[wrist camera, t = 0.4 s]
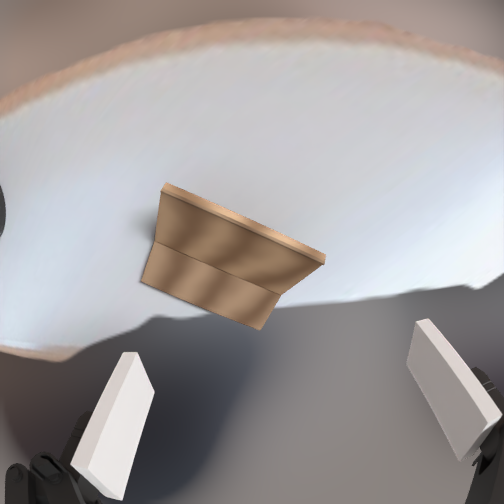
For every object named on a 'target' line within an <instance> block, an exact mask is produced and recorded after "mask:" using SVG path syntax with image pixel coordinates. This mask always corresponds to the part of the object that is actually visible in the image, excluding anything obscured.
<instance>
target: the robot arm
mask: <svg viewBox="0 0 504 504" xmlns="http://www.w3.org/2000/svg"><path fill="white" fill-rule="evenodd" d="M4 224H5V202H4V196H3V192H2V189H1V186H0V236H1V234H2V232H3V228H4ZM406 365H407V366H408V368H409V370H410V372H411V373H412V375H413V377H414V379H415V380H416V382H417V384H418V385H419V387H420V389H421V391H422V392H423V394H424V396H425V398H426V399H427V401H428V403H429V405H430V407H431V409H432V410H433V412H434V414H435V416H436V418H437V420H438V421H439V423H440V425H441V427H442V429H443V431H444V433H445V435H446V437H447V439H448V441H449V443H450V445H451V447H452V449H453V451H454V452H455V455H456V456H457V459H458V461H459V462H460V461H462V460H464V459H466V458H468V457H470V456H472V455H474V453H475V452H476V451H477V449H478V448H479V447H480V449H481V451H482V452H481V453H480V455H479V456H478V457H477V458H476V459H475V461H474V462H473V464H472V466H474V465H475V464H476V463H477V462H478V463H477V467H476V471H475V474H474V478H473V481H472V484H471V487H470V491H469V493H468V497H467V499H466V502H465V504H504V397H503V396H502V395H501V394H500V392H499V391H498V389H497V388H495V386H494V384H493V383H492V382H491V381H490V379H489V378H488V376H487V375H486V374H485V373H484V372H483V371H481V370H480V369H478V368H477V367H475V368H472V369H469V367H468V366H467V365H466V364H465V362H464V361H463V360H462V358H461V357H460V356H459V355H458V353H457V352H456V351H455V350H454V348H453V347H452V346H451V345H450V343H449V342H448V341H447V340H446V339H445V337H444V336H443V335H442V334H441V332H440V331H439V330H438V329H437V328H436V327H435V326H434V324H433V323H432V322H431V321H430V320H429V319H424V320H420V321H416V323H415V328H414V333H413V337H412V342H411V346H410V351H409V355H408V358H407V362H406ZM153 395H154V390H153V388H152V385H151V383H150V381H149V379H148V376H147V374H146V372H145V369H144V367H143V365H142V362H141V360H140V357H139V355H138V353H137V352H123V354H122V356H121V358H120V360H119V362H118V364H117V366H116V367H115V369H114V372H113V373H112V375H111V377H110V379H109V381H108V383H107V385H106V387H105V389H104V391H103V393H102V395H101V398H100V400H99V402H98V404H97V406H96V408H95V410H94V412H89V411H86V412H85V413H84V414H83V415H82V416H81V417H80V418H79V419H78V421H77V423H76V425H75V427H74V430H73V431H72V433H71V437H70V438H69V440H68V442H67V444H66V446H65V449H64V451H63V453H62V455H61V457H60V459H59V461H58V460H57V459H56V458H55V457H54V456H53V455H52V454H51V453H48V452H40V453H38V454H36V455H35V456H34V457H33V458H32V459H31V462H30V470H31V471H29V470H28V469H27V468H26V467H25V466H24V465H22V464H18V463H16V464H13V465H11V466H10V467H9V468H8V470H7V472H6V479H5V480H6V481H5V504H102V502H101V500H100V499H99V497H98V493H99V491H100V492H101V493H102V494H104V495H105V496H106V497H109V498H114V499H117V500H122V499H123V495H124V492H125V488H126V484H127V481H128V477H129V474H130V470H131V466H132V463H133V460H134V456H135V453H136V450H137V446H138V443H139V439H140V436H141V433H142V430H143V426H144V423H145V420H146V417H147V414H148V411H149V408H150V404H151V401H152V398H153Z"/></svg>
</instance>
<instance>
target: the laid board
mask: <svg viewBox="0 0 504 504" xmlns="http://www.w3.org/2000/svg"><path fill="white" fill-rule="evenodd" d="M141 281H142V282H144V283H146V284H148V285H150V286H153V287H155V288H157V289H159V290H162V291H164V292H166V293H168V294H171V295H173V296H175V297H178V298H180V299H182V300H185V301H187V302H189V303H192V304H194V305H197V306H199V307H201V308H204V309H206V310H209V311H211V312H214V313H216V314H219V315H221V316H224V317H226V318H229V319H231V320H234V321H237V322H239V323H242V324H244V325H247V326H250V327H253V328H255V329H258V330H261V328H262V327H263V325H264V323H265V322H266V320H267V318H268V317H269V315H270V313H271V312H272V310H273V308H274V307H275V305H276V303H277V302H278V300H279V298H280V296H281V295H280V294H278V293H275V292H273V291H270V290H268V289H266V288H263V287H261V286H258V285H256V284H253V283H251V282H249V281H246V280H244V279H242V278H239V277H237V276H234V275H232V274H230V273H227V272H225V271H223V270H220V269H218V268H216V267H213V266H211V265H209V264H206V263H204V262H202V261H199V260H197V259H195V258H193V257H190V256H188V255H186V254H183V253H181V252H179V251H177V250H174V249H172V248H170V247H168V246H165V245H163V244H161V243H159V242H156V241H154V244H153V247H152V250H151V253H150V256H149V259H148V262H147V265H146V268H145V271H144V274H143V277H142V280H141Z"/></svg>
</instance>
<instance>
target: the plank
mask: <svg viewBox="0 0 504 504" xmlns="http://www.w3.org/2000/svg"><path fill="white" fill-rule="evenodd" d="M155 241H156V242H159V243H161V244H163V245H165V246H168V247H170V248H172V249H174V250H177V251H179V252H181V253H183V254H186V255H188V256H190V257H193V258H195V259H197V260H199V261H202V262H204V263H206V264H209V265H211V266H213V267H216V268H218V269H220V270H223V271H225V272H227V273H230V274H232V275H234V276H237V277H239V278H242V279H244V280H246V281H249V282H251V283H253V284H256V285H258V286H261V287H263V288H266V289H268V290H270V291H273V292H275V293H278V294H280V295H282V294H283V293H285V292H286V291H287V290H289V289H290V288H292V287H293V286H294V285H296V284H297V283H298V282H300V281H301V280H303V279H304V278H305V277H307V276H308V275H309V274H311V273H312V272H313V271H315V270H316V269H317V268H319V267H320V266H321V265H324V264H325V257H326V254H324V253H321V252H319V251H317V250H315V249H313V248H311V247H309V246H307V245H305V244H302V243H300V242H298V241H296V240H294V239H292V238H290V237H287V236H285V235H283V234H281V233H279V232H277V231H275V230H272V229H270V228H268V227H266V226H264V225H261V224H259V223H257V222H255V221H253V220H250V219H248V218H246V217H244V216H242V215H239V214H237V213H235V212H233V211H231V210H228V209H226V208H224V207H222V206H219V205H217V204H215V203H213V202H210V201H208V200H206V199H203V198H201V197H199V196H197V195H194V194H192V193H190V192H187V191H185V190H183V189H180V188H178V187H176V186H173V185H171V184H169V183H165V185H164V187H163V188H162V190H161V196H160V203H159V210H158V217H157V225H156V234H155Z"/></svg>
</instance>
